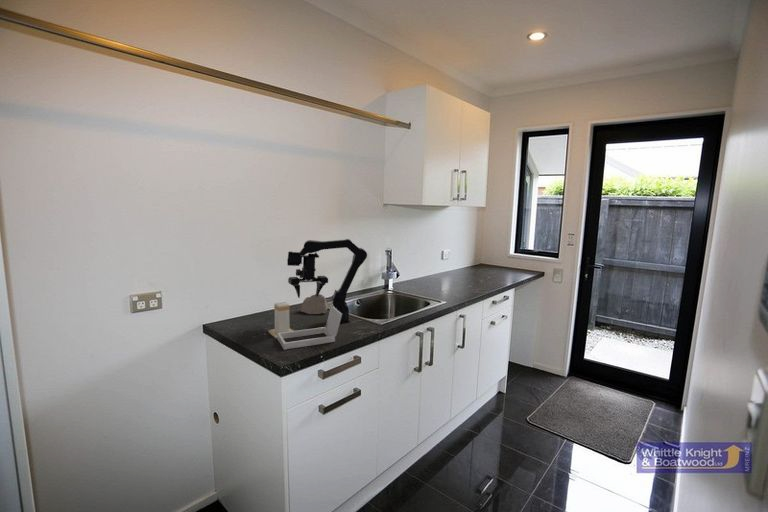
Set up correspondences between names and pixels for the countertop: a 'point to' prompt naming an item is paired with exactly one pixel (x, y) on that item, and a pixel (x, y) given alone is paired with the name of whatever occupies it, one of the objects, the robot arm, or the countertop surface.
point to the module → (282, 317)
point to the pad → (275, 332)
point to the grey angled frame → (313, 332)
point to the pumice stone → (314, 305)
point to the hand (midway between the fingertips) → (307, 297)
